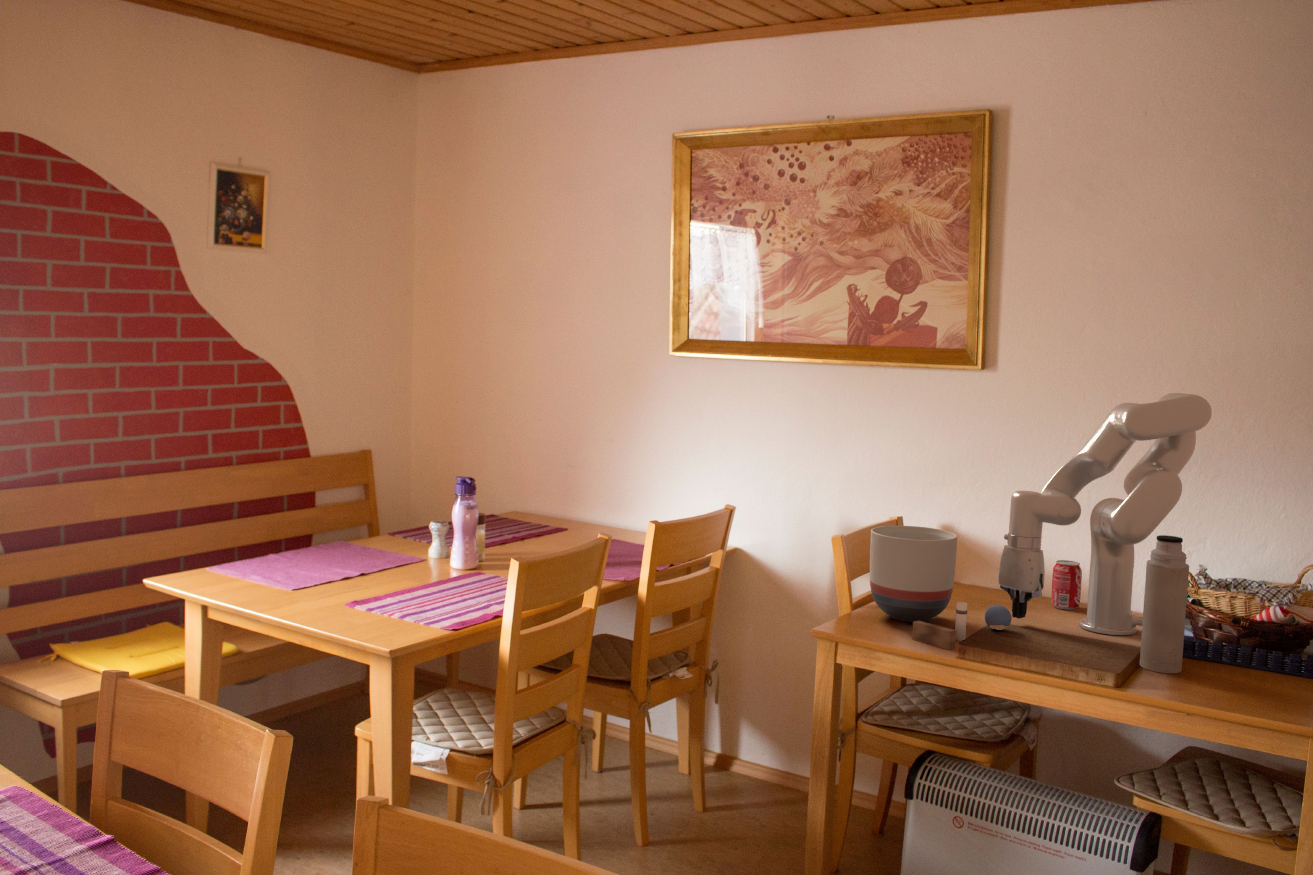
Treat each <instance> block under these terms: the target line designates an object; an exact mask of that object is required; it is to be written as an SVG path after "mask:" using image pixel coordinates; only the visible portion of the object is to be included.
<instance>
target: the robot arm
mask: <svg viewBox="0 0 1313 875" xmlns="http://www.w3.org/2000/svg"><path fill="white" fill-rule="evenodd" d="M1212 412H1213V411H1212V406H1211V404H1210V402H1208V400H1207V399H1206V398H1204V397H1202V396H1201V395H1198V394H1193V393H1183V392H1182V393H1181V392H1171V393H1167V394H1165V395H1163V396H1162V397H1161V398H1159V400H1158V401H1154V402H1148V403H1137V402H1136V403H1134V402H1123V403H1120V404H1118V405H1116V406H1115V407H1114V408H1112V410H1111V411H1110V412H1109V413H1108V414H1107V415H1106V417H1105V419H1104V420H1103V421H1102V422H1101V424H1100V425H1099V426H1098V427H1097V428H1096V430H1095V432H1093V434H1092V435H1091V437H1090V438H1089V439H1088V440H1087V441H1086V443H1085V444H1084V445H1083V447H1082V448H1081V449H1080V450H1079V451H1078V452H1077V453H1076V454H1074V455H1073V456H1072V457H1071V458H1070V459H1069V460H1068V461H1066V463H1064V464H1063V465H1062V466H1061V467H1060V468H1058V470H1057V471H1056V472H1055V473H1054V474H1053V475H1052V477H1051V478H1050V479H1049V481H1047V483H1046V484H1045V486H1044V487H1043V488H1042V490H1041V491H1040V492H1037V491H1033V490H1016V491H1014V492H1013V493H1012V495H1011V499H1010V511H1009V523H1008V524H1009V525H1008V534H1007V533H1006V534H1004V536H1003V539H1004V540H1006V541H1007V544H1005V545H1003V549H1002V553H1001V556H1000V560H999V567H998V572H997V583H998V585H999V589H1001V590H1003V591H1005V592H1006V593H1007V594H1008V595H1009V597H1010V601H1012V603H1011V613H1012V614H1011V618H1016V619H1018V620H1019V619H1022V618H1026V615H1027V611H1028V602H1030V600H1031V599H1035V598H1042V597H1043V591H1042V590H1043V589H1044V587H1045V586H1044V585H1045V577H1046V574H1045V568H1046V567H1045V558H1044V557H1045V556H1044V550H1043V549H1041V548H1042V538H1043V537H1042V535H1043V523H1047V524H1051V525H1056V526H1070V525H1072V524H1075V523H1076V522H1078V520H1079V518H1080V516H1081V513H1082V508H1081V504H1080V503H1079V501H1078V499H1076V497H1077V495H1078V494H1079V493H1080V492H1081V491H1082V490H1083V489H1084V488H1085V487H1086V486H1087V485H1089V484H1091V482H1093V481H1095V480H1097V479H1099V478H1102V477H1105V476H1106V475H1108V474H1110V473H1111V472H1113V471H1114V470H1115V468H1116V467H1117V465H1119V463H1120V462H1121V461H1122V459H1123V458H1124V457H1125V455H1126V454H1127V453H1128V452H1129V450H1130V449H1131V448H1132V447H1133V445H1134V444H1135V443H1136V442H1137V441H1139V442H1140V441H1141V442H1142V441H1143V442H1144V441H1152V440H1155V441H1154V442H1153V444H1152V445H1151V446H1150V447H1149V449H1148V450H1147V451H1146V452H1145V453H1144V454H1143V456H1142V457H1141V458H1140V459H1139V460H1138V462H1136V464H1135V465H1134V466H1132V468H1131V469H1130V470H1129V472H1128V473H1127V474H1126V476H1125V477H1124V480H1123V489H1124V491H1125V493H1126V495H1127V496H1126V497H1125V499H1122V498H1118V497H1117V498H1116V497H1107V498H1104V499H1101V500H1100V501H1099V502H1097V503H1096V504H1095V505H1094V506H1093V508H1092V510H1091V513H1090V518H1089V526H1090V527H1089V528H1090V543H1091V544H1090V550H1091V552H1090V563H1089V564H1090V565H1089V578H1088V590H1087V591H1088V594H1087V608H1086V617H1084V618H1081V619H1080V620H1079V623H1078V624H1079V626H1080V628H1083V629H1084V630H1086V631H1090V632H1094V633H1098V634H1103V635H1110V636H1111V635H1112V636H1130V635H1134V634H1136V633H1137V630H1138V629H1137V626H1140V627H1142V623H1143V616H1136V615H1135V614H1134V615H1133V612H1132V595H1133V582H1134V570H1135V569H1134V568H1135V545H1137V544H1140V543H1141V542H1143V541H1145V539H1147V538H1148V537H1149V536H1150V535H1151V534H1152V533H1153V532H1154V531H1155V530H1156V528H1157V527H1158V526H1159V525H1160V524H1162V522H1163V520H1164V519H1166V517H1167V516H1168V514H1170V513H1171V511H1172V510H1173V509H1174V508H1175V507H1176V505H1177V504H1178V503H1179V501H1180V498H1181V497H1182V492H1183V484H1182V483H1183V482H1182V480H1181V478H1180V476H1179V474H1180V473H1181V472H1182V470H1183V469H1184V467H1186V465H1187V464H1188V462H1189V461H1190V459H1191V458H1192V456H1193V454H1194V452H1195V448H1196V444H1197V443H1196V442H1197V441H1196V440H1197V439H1196V438H1197V433H1196V432H1197V431H1200V430H1202V429H1203V428H1204V427H1206V426H1207V425H1208V424H1209V423H1210V421H1211V419H1212V414H1213V413H1212Z"/></svg>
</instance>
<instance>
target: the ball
mask: <svg viewBox="0 0 1313 875" xmlns="http://www.w3.org/2000/svg"><path fill="white" fill-rule="evenodd" d="M1012 618H1013V617H1012V614H1011V612H1010V610H1009V609H1008V608H1007V607H1006V606H1003V605H1001V604H995V605H991V606H989V608H987V609H986V611H985V614H984V621H985V624H986V625H987V626H988V627H989V626H990V625H1004V626H1009V627H1010V625H1011V624H1012Z"/></svg>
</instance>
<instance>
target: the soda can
mask: <svg viewBox="0 0 1313 875" xmlns="http://www.w3.org/2000/svg"><path fill="white" fill-rule="evenodd" d="M1080 564H1081V563H1080V562H1078V561H1074V560H1065V559H1061V560H1060V559H1059V560H1056V561H1055V565H1054V566H1053V568H1052V578H1051V580H1052V581H1051V597H1050V600H1051V605H1053V607H1055V608H1056V609H1059V610H1063V609H1065V611H1074V610H1076V609H1078V608H1079V607H1080V603H1081V594H1082V581H1083V580H1082V578H1083V574H1082V573H1083V571H1082V568H1081V566H1080Z"/></svg>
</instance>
